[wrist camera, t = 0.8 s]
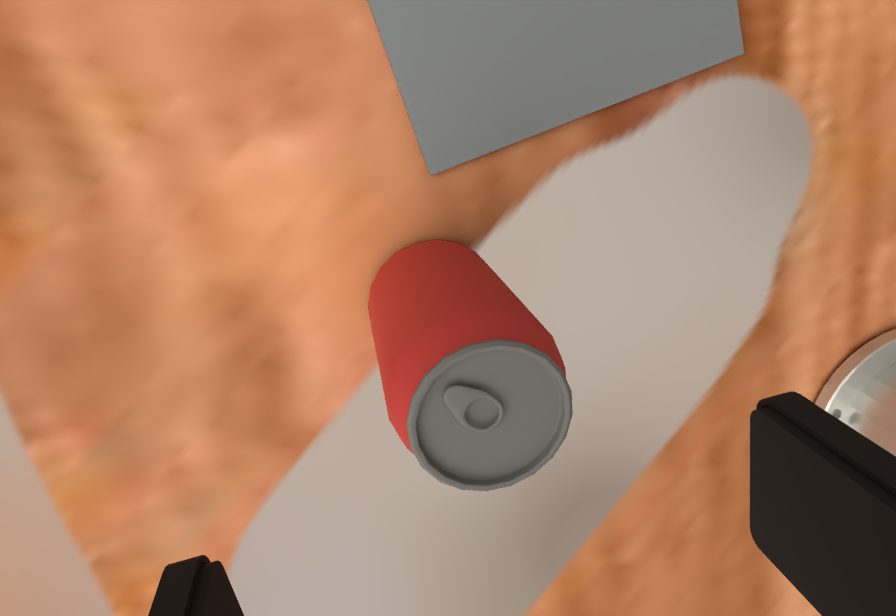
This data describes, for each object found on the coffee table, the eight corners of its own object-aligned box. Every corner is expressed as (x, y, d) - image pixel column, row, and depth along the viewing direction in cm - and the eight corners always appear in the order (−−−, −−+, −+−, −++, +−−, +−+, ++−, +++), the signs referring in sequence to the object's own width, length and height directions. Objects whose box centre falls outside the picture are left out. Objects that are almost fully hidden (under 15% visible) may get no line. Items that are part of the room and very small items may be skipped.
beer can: (420, 209, 29) (478, 286, 18) (520, 284, 31) (627, 393, 20) (340, 316, 30) (349, 450, 19) (443, 381, 32) (504, 534, 21)
